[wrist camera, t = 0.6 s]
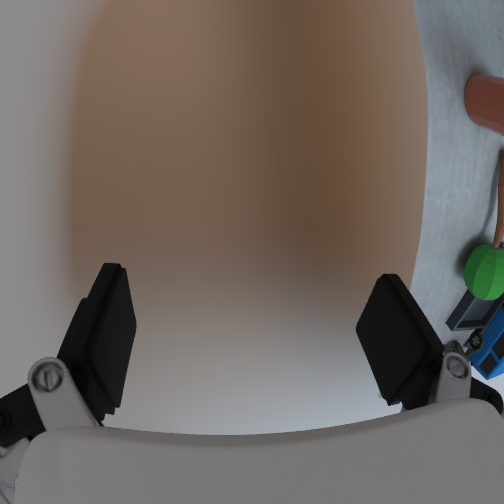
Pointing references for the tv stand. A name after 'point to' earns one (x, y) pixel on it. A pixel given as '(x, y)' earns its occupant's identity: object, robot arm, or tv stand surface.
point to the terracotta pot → (486, 102)
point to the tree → (488, 257)
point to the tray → (474, 311)
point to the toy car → (488, 347)
